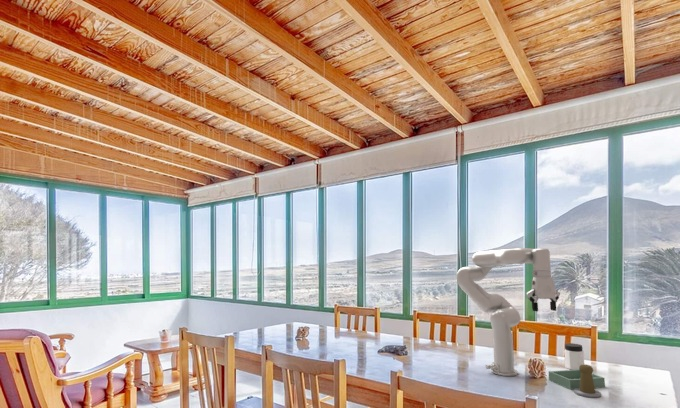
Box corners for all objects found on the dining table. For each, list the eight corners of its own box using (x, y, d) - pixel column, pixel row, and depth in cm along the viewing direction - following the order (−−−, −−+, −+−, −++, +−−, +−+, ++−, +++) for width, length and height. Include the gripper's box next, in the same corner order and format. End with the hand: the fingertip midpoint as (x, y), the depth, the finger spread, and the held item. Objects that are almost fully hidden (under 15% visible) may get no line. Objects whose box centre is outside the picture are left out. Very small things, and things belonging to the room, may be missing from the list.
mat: (586, 398, 172) (586, 396, 172) (568, 390, 182) (568, 388, 182) (606, 397, 174) (606, 394, 174) (588, 389, 184) (588, 387, 184)
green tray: (570, 389, 184) (569, 380, 184) (548, 380, 197) (548, 371, 198) (605, 386, 187) (604, 377, 187) (581, 377, 201) (581, 369, 201)
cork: (580, 388, 182) (578, 362, 184) (596, 390, 179) (594, 364, 180) (578, 392, 177) (577, 365, 179) (595, 394, 174) (593, 367, 175)
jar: (578, 371, 211) (577, 347, 213) (562, 367, 218) (561, 344, 219) (587, 368, 216) (585, 345, 217) (571, 365, 223) (570, 342, 224)
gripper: (531, 274, 192) (533, 312, 190) (563, 274, 196) (566, 311, 194) (521, 274, 200) (523, 310, 198) (552, 273, 203) (554, 309, 201)
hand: (544, 310), depth 196 cm, fingers open, 9 cm apart
